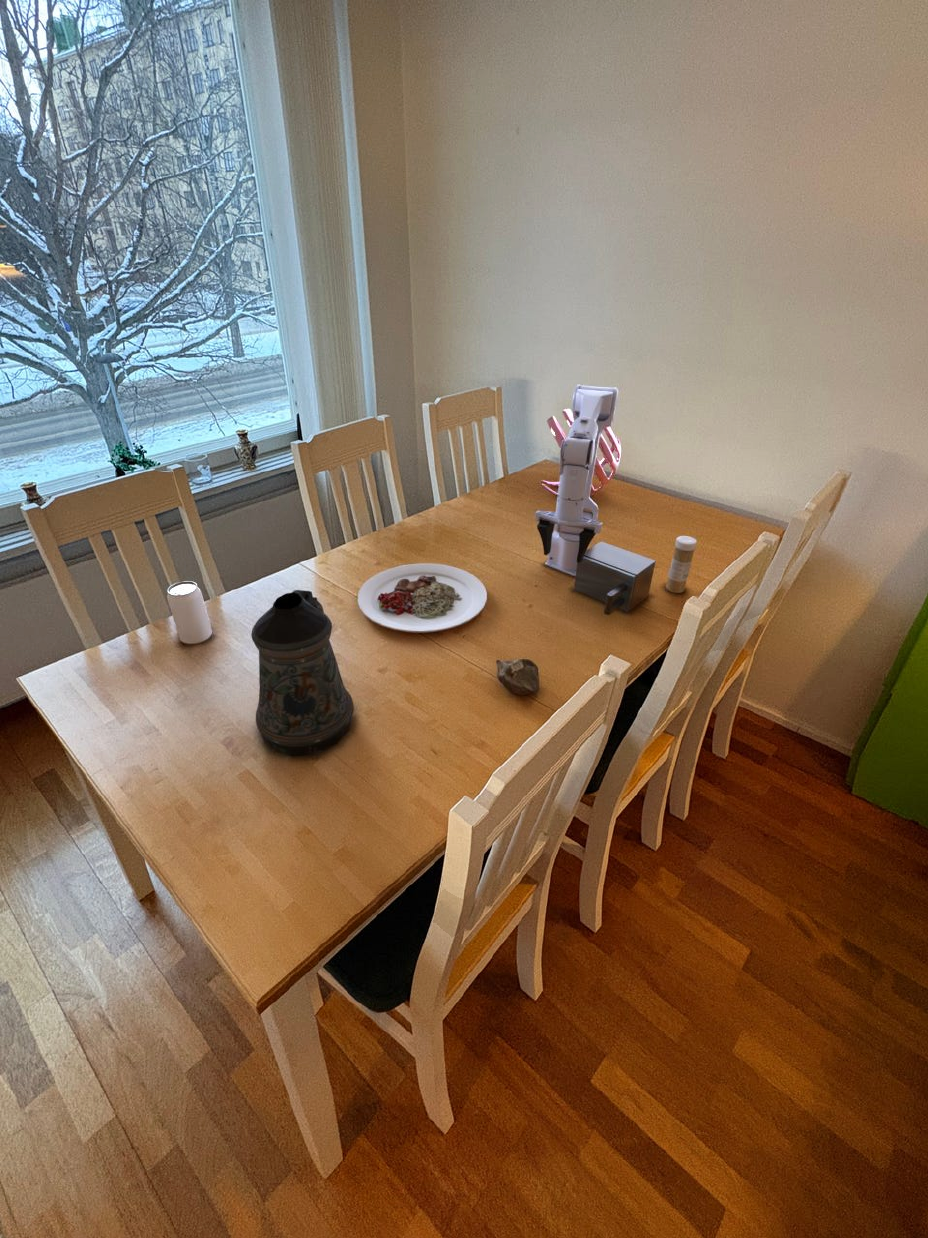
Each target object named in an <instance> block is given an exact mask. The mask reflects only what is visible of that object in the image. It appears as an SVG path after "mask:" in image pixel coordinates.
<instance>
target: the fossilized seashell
mask: <svg viewBox="0 0 928 1238" xmlns="http://www.w3.org/2000/svg"><path fill="white" fill-rule="evenodd" d="M495 663H496V666H497V671H496V672H497V673H496V674H497V676H496V677H497V680H498V681H499V683H500V684H502V686H503V687H504V688H505V689H506V690H508V692H511V693H513V694H517V695H531V694H532V695H535V694H537V693H539V690H540V675H539V673H540V672H539V668H538V667H539V666H538V665H537V664H536V663H535V662H534V661H533V660H531V659H529V658H528V659H527V658H519V657H516V658H515V660H500V659H496V660H495Z"/></svg>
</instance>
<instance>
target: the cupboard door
mask: <svg viewBox="0 0 928 1238" xmlns="http://www.w3.org/2000/svg"><path fill="white" fill-rule="evenodd" d="M574 577H575V578H574V579H575V580H574V586H573V591H575V592H578V593H581V594H582V595H585V596H587V597H590V598H593V599H594V600H597V601H599V602H602V603H604V604H605V605H604V610H603V614H604V615H606V616H610V615H611V614H612V613H614V612H615V611H616V610H621V611H623V612H626V613H628V612H630V611H629V608H630V603H631V598H632V593H633V588H634V583H635V578H636V576H635V575H632V574H630V573H627V572H624V571H622V570H619V569H616V568H614V567H611V566H608V565H606V564H603V563H600V562H598V561H595V560H593V559H590V558H587V557H585V556H584V557H583V560H582V561H581V562H580V563H578V562H577V570H576V576H574Z"/></svg>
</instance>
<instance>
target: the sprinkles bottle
mask: <svg viewBox="0 0 928 1238" xmlns="http://www.w3.org/2000/svg"><path fill="white" fill-rule="evenodd" d="M697 543H698V540H697V539H696V538H695V537H692V536H689V535H680V536H677V537H676V539H675V542H674V550H673V551H674V552H673V556H672V559H671V564H670V567H669V571H668V577H667V582H666V584H665V589H666V590H667V591H668V592H670V593H675V594H681V593H684V592H685V590H686V584H687V580H688V578H689V573H690V570H691V566H692V562H693V557H694V552H695V550H696V548H697Z"/></svg>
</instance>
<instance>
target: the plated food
mask: <svg viewBox="0 0 928 1238" xmlns="http://www.w3.org/2000/svg"><path fill="white" fill-rule="evenodd" d="M487 592H488V591H487V590H486V586H485V585H484V584H483V582H482V581H481V580H480V579H479V578H477V576H475V575H473V574H472V573H470V572H469V571H466V570H465V569H461V568H459V567H456V566H451V565H446V564H441V563H432V562H431V563H429V562H428V563H427V562H426V563H425V562H422V563H421V562H420V563H409V564H403V565H398V566H393V567H390V568H388V569H385V570H382V571H380V572H378V573H376V574H375V575H373V576H371V577H369V579H367V580H366V581H365V582H364V583H363V584H362V586H361V587H360V588H359V591H358V592H357V604H358V607H359V609H360V611H361V612H362V613H363V615H364V617H366V618H367V619H369V620H370V621H372V622H373V623H374V624H377V625H378V626H381V627H384V628H387V629H390V630H394V631H399V632H405V633H406V632H407V633H435V632H441V631H445V630H446V631H447V630H451V629H453V628H456V627H459V626H460V627H461V626H462V625H464V624H466V623H468V622H470V621H472V620H473V619H474V618H475V617H477V616H478V615H479V614H480V613H481V612H482V611H483V610H484V608H485V606H486V604H487V600H488V596H487V595H488V593H487Z"/></svg>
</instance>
